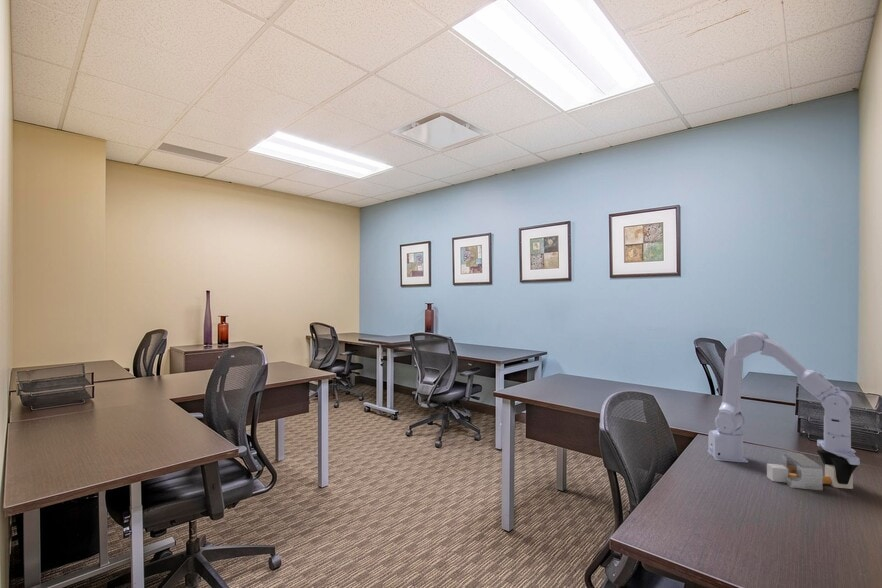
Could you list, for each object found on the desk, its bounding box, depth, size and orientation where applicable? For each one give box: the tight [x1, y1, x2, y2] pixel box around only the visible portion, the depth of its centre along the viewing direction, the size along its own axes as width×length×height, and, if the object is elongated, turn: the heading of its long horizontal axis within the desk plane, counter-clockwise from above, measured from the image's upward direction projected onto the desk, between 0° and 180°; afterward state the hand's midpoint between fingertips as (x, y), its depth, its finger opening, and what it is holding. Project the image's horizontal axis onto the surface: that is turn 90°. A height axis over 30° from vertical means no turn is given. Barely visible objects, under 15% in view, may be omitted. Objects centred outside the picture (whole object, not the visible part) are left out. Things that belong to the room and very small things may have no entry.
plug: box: [766, 463, 854, 490], centre depth 122 cm, size 20×4×5 cm, turn 76°
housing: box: [781, 451, 824, 491], centre depth 123 cm, size 8×10×7 cm
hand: (837, 479), depth 120 cm, fingers closed on plug, 4 cm apart
